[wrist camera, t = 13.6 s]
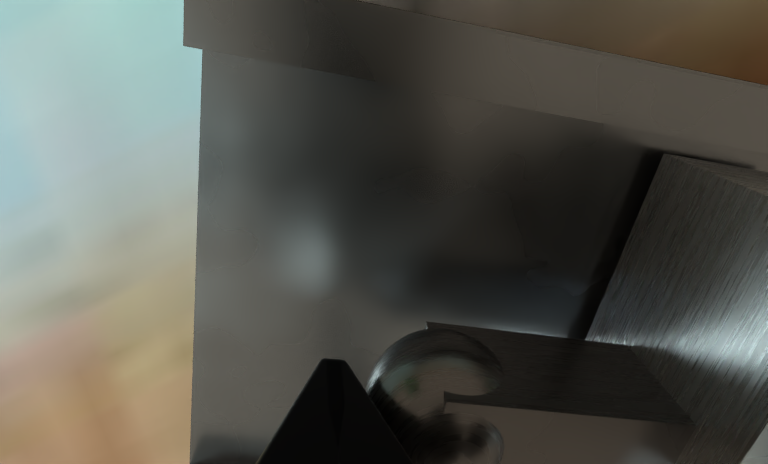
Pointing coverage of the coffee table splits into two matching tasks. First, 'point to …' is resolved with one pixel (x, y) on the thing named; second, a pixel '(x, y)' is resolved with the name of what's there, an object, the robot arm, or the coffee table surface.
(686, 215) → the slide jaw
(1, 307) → the coffee table surface
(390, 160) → the vise body
